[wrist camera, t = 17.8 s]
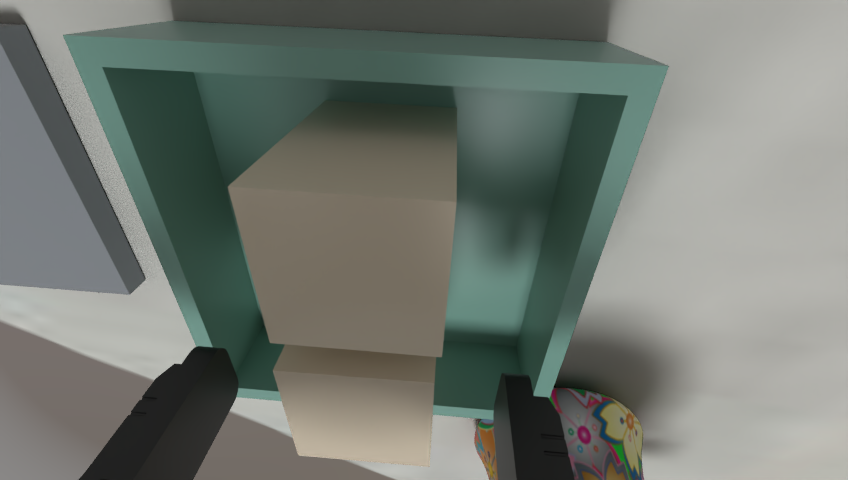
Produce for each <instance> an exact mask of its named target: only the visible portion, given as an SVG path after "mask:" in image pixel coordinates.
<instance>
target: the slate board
mask: <svg viewBox="0 0 848 480" xmlns="http://www.w3.org/2000/svg"><path fill="white" fill-rule="evenodd" d="M144 281H145V278H144V276H143V273H142V271H141V269H140V267H139V265H138V263H137V261H136V258H135V256H134V254H133V252H132V250H131V248H130V246H129V244H128V241H127V239H126V237H125V235H124V233H123V231H122V229H121V227H120V224H119V222H118V220H117V218H116V216H115V214H114V212H113V210H112V207H111V205H110V203H109V201H108V199H107V197H106V195H105V193H104V190H103V188H102V186H101V184H100V182H99V180H98V178H97V176H96V173H95V171H94V169H93V167H92V165H91V163H90V161H89V159H88V156H87V154H86V152H85V150H84V148H83V146H82V144H81V142H80V139H79V137H78V135H77V133H76V131H75V129H74V127H73V124H72V122H71V120H70V118H69V116H68V114H67V112H66V110H65V107H64V105H63V103H62V101H61V99H60V97H59V95H58V93H57V90H56V88H55V86H54V84H53V82H52V80H51V78H50V76H49V73H48V71H47V69H46V67H45V65H44V63H43V61H42V59H41V56H40V54H39V52H38V50H37V48H36V46H35V44H34V42H33V39H32V37H31V35H30V33H29V31H28V29H27V27H26V25H22V24H2V23H0V284H1V285H14V286H27V287H39V288H52V289H65V290H77V291H90V292H103V293H115V294H128V295H130V294H131V293H132V292H133V291H134V290H135V289H136V288H137V287H138V286H139V285H140V284H141V283H142V282H144Z"/></svg>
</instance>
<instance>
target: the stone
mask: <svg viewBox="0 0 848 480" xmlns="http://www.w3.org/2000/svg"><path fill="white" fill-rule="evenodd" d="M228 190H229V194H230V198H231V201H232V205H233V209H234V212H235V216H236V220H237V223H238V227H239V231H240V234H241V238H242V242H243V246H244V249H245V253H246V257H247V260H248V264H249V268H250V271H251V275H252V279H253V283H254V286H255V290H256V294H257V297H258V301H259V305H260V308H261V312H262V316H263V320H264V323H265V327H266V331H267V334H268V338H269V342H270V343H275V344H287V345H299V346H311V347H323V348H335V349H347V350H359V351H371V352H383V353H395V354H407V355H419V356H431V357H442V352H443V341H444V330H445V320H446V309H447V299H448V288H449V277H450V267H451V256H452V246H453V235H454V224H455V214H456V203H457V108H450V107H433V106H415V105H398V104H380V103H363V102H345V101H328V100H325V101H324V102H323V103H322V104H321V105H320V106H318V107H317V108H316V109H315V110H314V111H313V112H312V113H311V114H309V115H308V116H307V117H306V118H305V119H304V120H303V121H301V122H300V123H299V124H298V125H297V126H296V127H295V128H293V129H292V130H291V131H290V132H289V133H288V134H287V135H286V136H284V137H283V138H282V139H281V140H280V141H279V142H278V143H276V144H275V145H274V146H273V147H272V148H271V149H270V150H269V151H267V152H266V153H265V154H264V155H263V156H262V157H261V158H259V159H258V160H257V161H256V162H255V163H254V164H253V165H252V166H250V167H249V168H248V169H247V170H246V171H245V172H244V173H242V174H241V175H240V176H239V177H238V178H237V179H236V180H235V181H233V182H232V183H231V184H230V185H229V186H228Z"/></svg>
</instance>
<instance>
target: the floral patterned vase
mask: <svg viewBox="0 0 848 480" xmlns="http://www.w3.org/2000/svg"><path fill="white" fill-rule="evenodd" d="M549 399H550V401H551V402H552V404H553V406H554V407H555V409H556V410H557V412H558V413H559V415H560V418H561V423H562V427H563V431H564V439H565V440H566V444H567V448H568V456H569V457H570V461H571V466H572V470H573V474H574V479H575V480H644V477H643V469H642V444H643V432H642V427H641V424H640V422H639V421H638V419H637V418H636V416H635V415H634V414H633V413H632V412H631V411H630V410H629V409H628V408H627V407H625V406H624V405H623V404H621V403H620V402H618V401H616V400H614V399H612V398H610V397H608V396H605V395H603V394H600V393H596V392H593V391H588V390H582V389H572V388H553V390H552V393H551V396H550V398H549ZM475 447H476V450H477V452H478V454H479V456H480V458H481V460H482V462H483V464H484V466H485V468H486V471H487V474H488V477H489V480H498V475H497V462H496V450H495V437H494V423H493V420H489V419H481V421H480V422H479V424H478V426H477V429H476V432H475Z"/></svg>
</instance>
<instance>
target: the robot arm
mask: <svg viewBox="0 0 848 480" xmlns="http://www.w3.org/2000/svg"><path fill="white" fill-rule="evenodd" d="M238 386H239V382H238V378H237V375H236V372H235V370H234V367H233V364H232V362H231V359H230V357H229V354H228V352H227V350H226V349H225V348H216V347H204V346H197V347H195V348H194V349H193V350H192V351H191V352H190V353H189V355H188V356H187V357H186V359H185V360H184V362H183V363H182V364H174V365H172V366H171V367H170V368H169V369H167V370H166V371H165V372H164V373H162V374H161V375H160V376H159V377H157V378H156V379H155V380H154V382H153V383H152V385H151V386H150V387H149V388H148V390H147V391H146V392H145V394H144V395H143V398H142V400H140V401H139V402H138V403H137V404H136V406H135V407H134V408H133V410H132V411H131V415H128V416H127V418H126V419H125V420H124V422H123V423H122V424H121V425H120V427H119V428H118V430H117V431H116V432H115V434H114V435H113V436H112V437H111V439H110V440H109V441H108V443H107V444H106V445H105V447H104V448H103V450H102V451H101V452H100V453H99V455H98V456H97V457H96V459H95V460H94V461H93V463H92V464H91V465H90V467H89V468H88V469H87V470H86V472H85V473H84V474H83V475H82V477H81V478H80V479H79V480H193V479H194V477H195V475H196V473H197V471H198V469H199V467H200V466H201V464H202V462H203V460H204V458H205V456H206V454H207V452H208V450H209V449H210V447H211V445H212V443H213V441H214V439H215V437H216V435H217V433H218V432H219V430H220V428H221V426H222V424H223V422H224V420H225V418H226V416H227V415H228V413H229V411H230V409H231V407H232V405H233V403H234V401H235V399H236V396H237V393H238ZM493 423H494V437H495V450H496V462H497V475H498V480H575V479H574V474H573V470H572V466H571V461H570V457H569V456H568V448H567V444H566V440H565V439H564V431H563V427H562V423H561V418H560V415H559V413H558V412H557V410H556V409H555V407H554V406H553V404H552V402H551V401H550V399H549V398H548V397H540V396H534V395H533V389H532V384H531V379H530V377H529V375H524V374H512V373H502V374H501V377H500V382H499V386H498V390H497V394H496V399H495V403H494V413H493Z"/></svg>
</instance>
